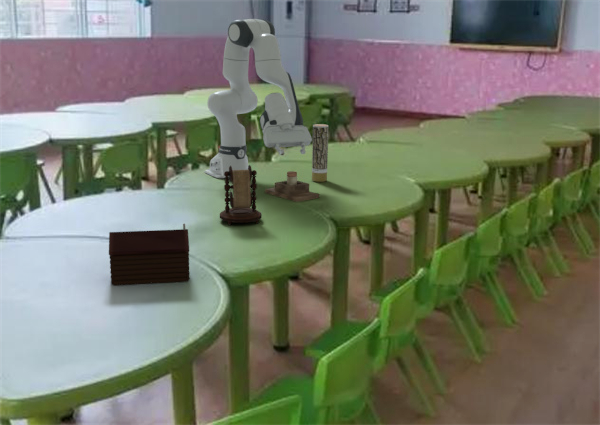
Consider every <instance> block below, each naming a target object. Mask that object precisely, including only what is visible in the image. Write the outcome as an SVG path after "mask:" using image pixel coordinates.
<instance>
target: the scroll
mask: <svg viewBox="0 0 600 425" xmlns="http://www.w3.org/2000/svg"><path fill="white" fill-rule="evenodd" d="M257 174H258V173H257V170H255V169H252V166H251V165H250V164H248V170H232V167H231V166H230V167H229V172H228V171H226V172H225V173H224V175H225V176H226V177H225V178H224V179H225V180H224V183H225V184H224V186H223V189H224V191H225V193H224V196H225V197H224V202H225V203H224V205H225V206H224V210H223V211H221V212H220V213H219V218H220V220H221V221H225V222H227V223H228V225H229V226H231V225H232V223H238V224H239V223H245V224H246V223H252V222H254V223H255V224H256V225H257V224H258V223H259V221H260V220H261V219H262V212H260V211H259V210H257V204H256V203H257V196H256V195H257V191H256V190H257V188H258V185H257V180H256V178H257ZM228 176H229V177H228ZM230 182H231V185H230ZM230 190H233V192H232V191H230ZM251 190H252V191H251ZM229 205H230V206H229ZM230 207H231V208H230Z"/></svg>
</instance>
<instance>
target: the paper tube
mask: <svg viewBox="0 0 600 425" xmlns="http://www.w3.org/2000/svg"><path fill="white" fill-rule="evenodd" d="M328 150H329V125H328V124H324V123H319V124H318V123H317V124H312V150H311V151H312V154H311V155H312V158H311V181H312V182H315V183H324V182H325V183H326V181H327V180H328V160H329V159H328V158H329V157H328V156H329V155H328V153H329V151H328Z"/></svg>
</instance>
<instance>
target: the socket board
mask: <svg viewBox="0 0 600 425" xmlns="http://www.w3.org/2000/svg"><path fill="white" fill-rule="evenodd" d="M264 193H265V194H267V195H268V194H269V195H271V196H275V197H279V198H282V199H284V200H285V199H286V200H288V201H293V202H295V203H296V202H297V203H299V202H303V201H309V200H314V199H319V198H320V193H316V192H313V191H310V183H308V182H303V181H300V180H297V184H296V185H288V184H287V180H283V181H282V180H281V181H278V182H277V181H276V182H274V187H270V188H264Z"/></svg>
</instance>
